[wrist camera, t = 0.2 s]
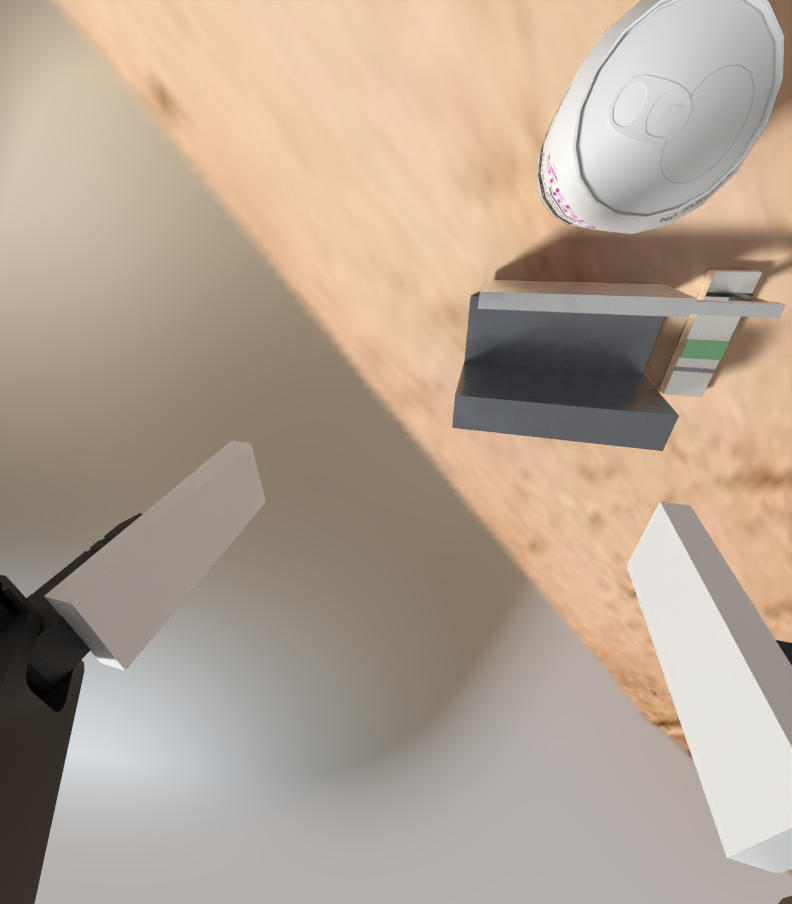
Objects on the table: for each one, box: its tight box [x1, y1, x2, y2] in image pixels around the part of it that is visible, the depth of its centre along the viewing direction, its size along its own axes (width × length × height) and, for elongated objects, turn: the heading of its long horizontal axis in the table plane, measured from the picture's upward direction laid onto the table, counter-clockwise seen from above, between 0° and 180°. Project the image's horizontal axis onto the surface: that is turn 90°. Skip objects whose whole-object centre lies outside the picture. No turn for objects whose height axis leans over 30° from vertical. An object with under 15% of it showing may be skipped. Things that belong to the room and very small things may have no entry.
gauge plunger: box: [478, 280, 786, 318], centre depth 28 cm, size 1×19×6 cm, turn 90°
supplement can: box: [536, 0, 784, 234], centre depth 21 cm, size 8×8×15 cm
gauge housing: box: [452, 269, 762, 451], centre depth 30 cm, size 12×21×9 cm, turn 90°
